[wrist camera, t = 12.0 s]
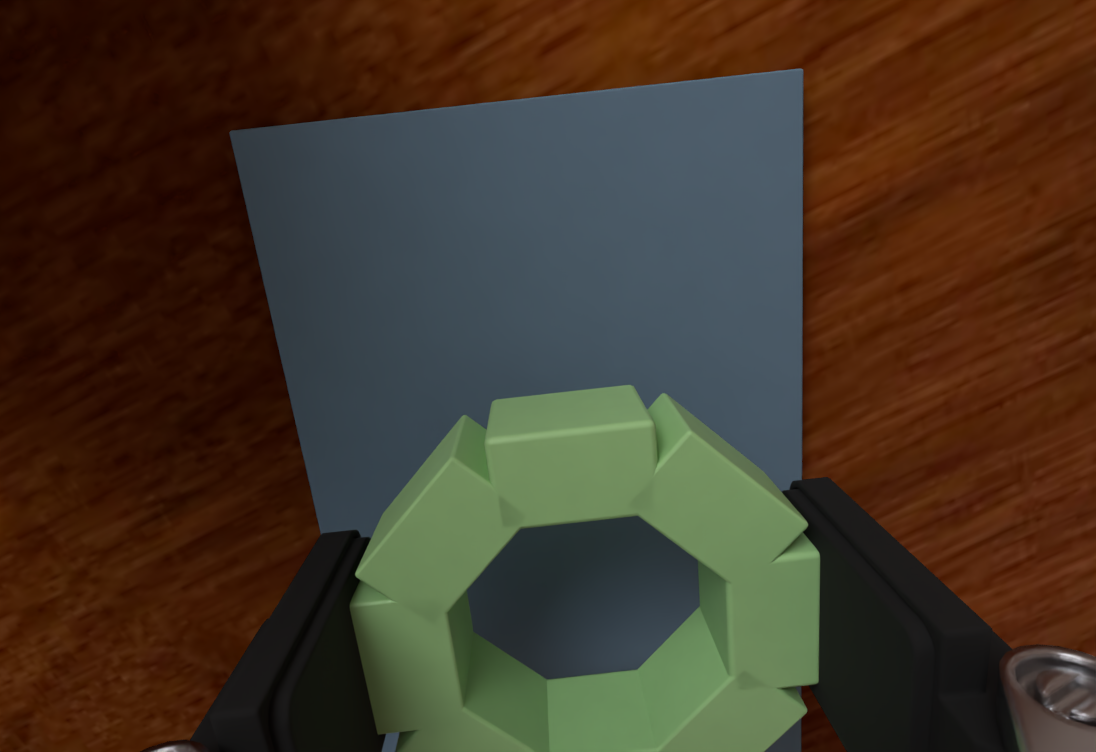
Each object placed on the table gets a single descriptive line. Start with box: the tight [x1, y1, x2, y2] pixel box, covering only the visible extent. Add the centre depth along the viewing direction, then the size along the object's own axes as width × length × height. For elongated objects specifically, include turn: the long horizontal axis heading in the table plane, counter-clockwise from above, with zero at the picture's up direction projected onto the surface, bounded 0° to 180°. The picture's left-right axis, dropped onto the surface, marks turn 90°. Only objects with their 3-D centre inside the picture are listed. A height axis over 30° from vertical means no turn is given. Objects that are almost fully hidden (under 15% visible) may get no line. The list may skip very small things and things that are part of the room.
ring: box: [350, 385, 820, 752], centre depth 10 cm, size 7×7×2 cm
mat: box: [230, 69, 803, 752], centre depth 13 cm, size 10×16×1 cm, turn 6°
